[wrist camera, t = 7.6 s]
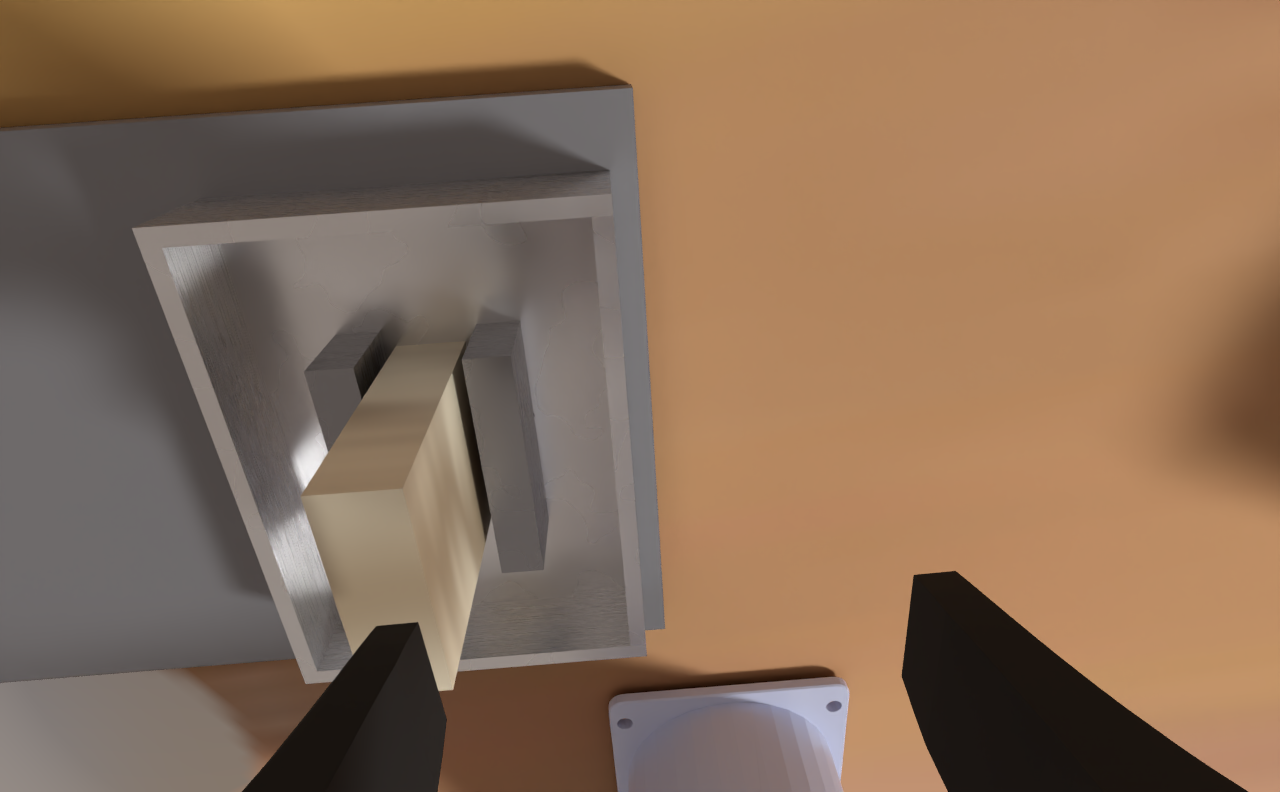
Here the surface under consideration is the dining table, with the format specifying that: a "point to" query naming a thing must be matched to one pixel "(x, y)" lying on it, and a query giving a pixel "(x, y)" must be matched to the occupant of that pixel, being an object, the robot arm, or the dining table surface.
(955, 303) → the dining table surface
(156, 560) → the charcoal board
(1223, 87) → the dining table surface
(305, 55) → the dining table surface
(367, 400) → the wood wick
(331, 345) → the grey slotted tray
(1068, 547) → the dining table surface
